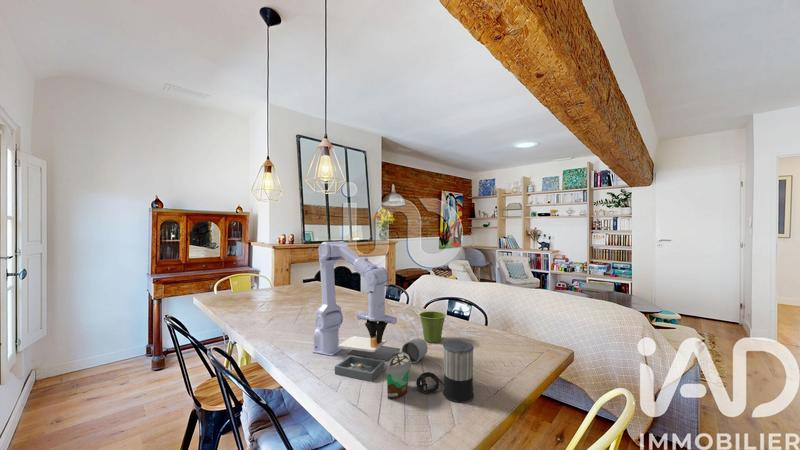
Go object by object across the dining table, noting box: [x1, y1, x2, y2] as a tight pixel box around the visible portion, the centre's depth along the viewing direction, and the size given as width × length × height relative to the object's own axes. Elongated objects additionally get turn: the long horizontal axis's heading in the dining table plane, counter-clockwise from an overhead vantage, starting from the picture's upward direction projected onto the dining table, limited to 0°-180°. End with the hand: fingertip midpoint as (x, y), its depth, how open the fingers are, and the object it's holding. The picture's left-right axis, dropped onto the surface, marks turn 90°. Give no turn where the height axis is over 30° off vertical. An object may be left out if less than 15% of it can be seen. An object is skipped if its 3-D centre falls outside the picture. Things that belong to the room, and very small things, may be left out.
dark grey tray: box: [334, 354, 386, 382], centre depth 110 cm, size 14×10×3 cm
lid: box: [338, 334, 387, 352], centre depth 112 cm, size 14×10×4 cm
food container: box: [386, 350, 412, 400], centre depth 96 cm, size 12×6×10 cm, turn 168°
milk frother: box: [415, 339, 475, 403], centre depth 96 cm, size 14×16×15 cm
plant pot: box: [418, 310, 447, 343], centre depth 139 cm, size 12×12×11 cm
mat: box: [347, 345, 401, 362], centre depth 127 cm, size 17×12×1 cm
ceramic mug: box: [400, 337, 429, 365], centre depth 120 cm, size 11×8×8 cm
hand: (376, 342), depth 110 cm, fingers closed on lid
